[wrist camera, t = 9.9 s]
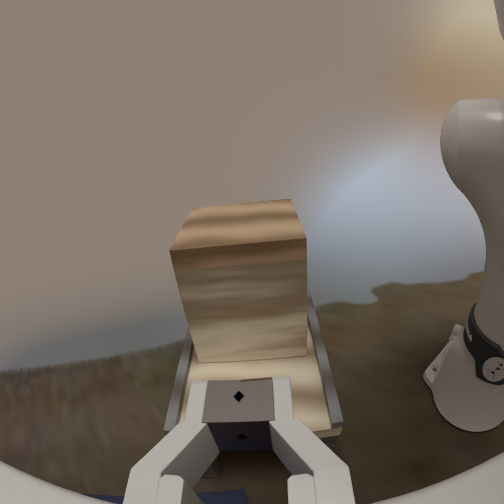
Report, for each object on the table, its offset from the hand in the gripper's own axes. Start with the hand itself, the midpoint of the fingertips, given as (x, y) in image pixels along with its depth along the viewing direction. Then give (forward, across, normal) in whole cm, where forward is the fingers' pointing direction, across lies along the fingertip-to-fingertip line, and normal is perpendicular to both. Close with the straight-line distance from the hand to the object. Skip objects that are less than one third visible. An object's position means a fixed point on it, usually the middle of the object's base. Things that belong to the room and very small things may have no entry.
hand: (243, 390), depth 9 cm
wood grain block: (+24, +2, +17) cm, 29 cm away
